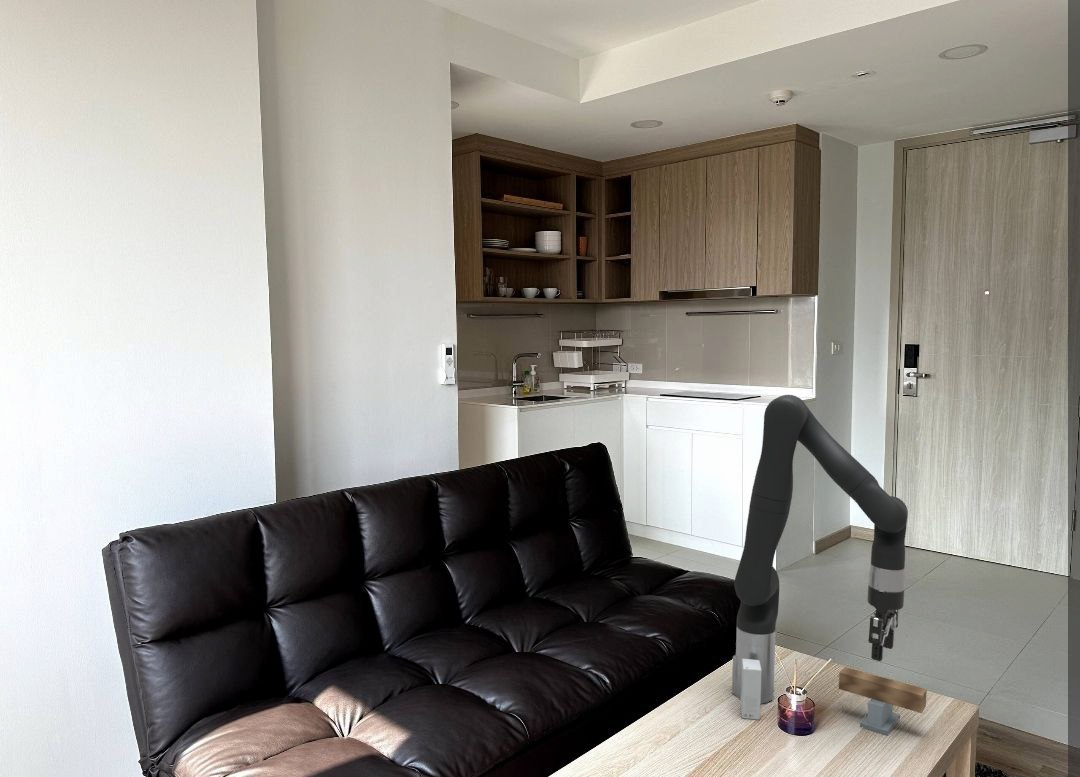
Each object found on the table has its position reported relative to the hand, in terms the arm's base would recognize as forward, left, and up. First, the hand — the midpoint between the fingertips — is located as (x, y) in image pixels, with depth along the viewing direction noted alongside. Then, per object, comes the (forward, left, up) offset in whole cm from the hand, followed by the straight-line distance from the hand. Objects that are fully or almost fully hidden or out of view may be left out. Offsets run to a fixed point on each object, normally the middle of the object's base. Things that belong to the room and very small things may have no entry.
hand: (882, 653), depth 178 cm
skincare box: (-25, -15, -17) cm, 34 cm away
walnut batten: (0, 0, -10) cm, 10 cm away
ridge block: (0, 0, -16) cm, 16 cm away
